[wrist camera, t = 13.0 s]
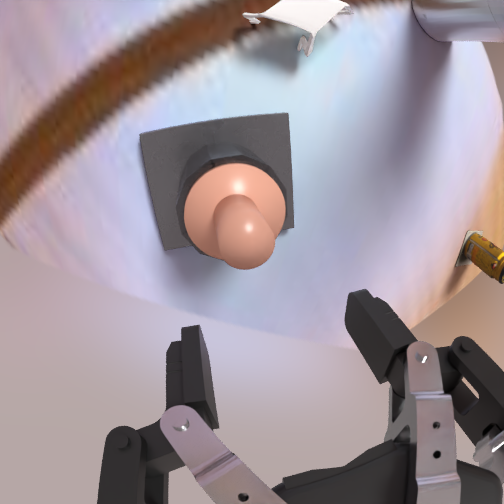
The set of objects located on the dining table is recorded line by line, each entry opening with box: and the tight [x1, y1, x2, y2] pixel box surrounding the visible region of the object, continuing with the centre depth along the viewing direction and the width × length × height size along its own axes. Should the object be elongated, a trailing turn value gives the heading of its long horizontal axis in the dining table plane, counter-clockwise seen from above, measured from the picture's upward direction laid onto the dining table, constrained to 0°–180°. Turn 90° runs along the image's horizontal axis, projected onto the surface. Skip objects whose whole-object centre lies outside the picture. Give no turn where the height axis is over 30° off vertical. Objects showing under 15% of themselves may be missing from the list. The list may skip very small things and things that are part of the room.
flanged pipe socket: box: [139, 113, 294, 260], centre depth 27 cm, size 16×14×10 cm
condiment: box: [456, 231, 504, 284], centre depth 43 cm, size 7×8×12 cm
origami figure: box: [242, 0, 353, 57], centre depth 22 cm, size 12×8×5 cm
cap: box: [184, 163, 285, 270], centre depth 21 cm, size 8×8×8 cm
